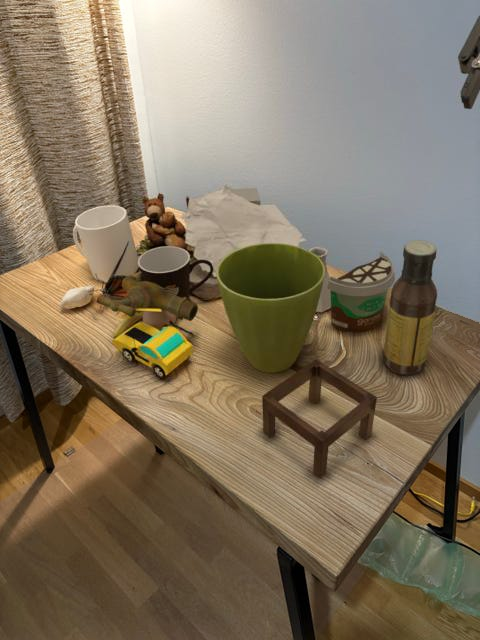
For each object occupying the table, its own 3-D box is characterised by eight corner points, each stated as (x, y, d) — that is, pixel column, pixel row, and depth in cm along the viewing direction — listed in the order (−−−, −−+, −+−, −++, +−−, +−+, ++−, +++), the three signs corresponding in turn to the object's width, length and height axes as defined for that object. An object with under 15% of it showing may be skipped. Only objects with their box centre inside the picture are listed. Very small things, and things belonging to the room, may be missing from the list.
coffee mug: (139, 320, 92) (129, 270, 86) (157, 292, 98) (149, 244, 92) (204, 327, 89) (198, 276, 83) (217, 298, 96) (213, 249, 90)
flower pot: (215, 335, 88) (207, 250, 78) (302, 320, 90) (305, 235, 80) (234, 399, 76) (227, 308, 66) (333, 380, 78) (341, 289, 69)
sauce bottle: (418, 348, 83) (442, 233, 71) (430, 376, 78) (456, 257, 66) (377, 350, 83) (393, 235, 71) (385, 377, 78) (404, 259, 66)
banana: (133, 305, 93) (152, 308, 91) (136, 313, 94) (155, 316, 92) (105, 333, 87) (125, 337, 86) (108, 341, 88) (127, 345, 87)
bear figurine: (133, 278, 103) (122, 221, 95) (139, 241, 115) (129, 187, 107) (204, 272, 103) (199, 215, 96) (202, 236, 115) (197, 182, 108)
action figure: (212, 294, 85) (162, 312, 72) (206, 318, 87) (156, 340, 73) (137, 265, 90) (77, 277, 77) (132, 288, 91) (72, 304, 78)
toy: (263, 212, 102) (255, 181, 114) (223, 215, 101) (219, 184, 113) (264, 256, 108) (256, 222, 119) (227, 259, 107) (223, 225, 119)
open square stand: (371, 435, 70) (377, 397, 65) (319, 479, 65) (322, 441, 60) (314, 395, 76) (316, 358, 72) (263, 433, 71) (261, 395, 67)
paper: (169, 185, 99) (188, 287, 95) (180, 169, 93) (200, 276, 90) (279, 188, 109) (300, 280, 106) (294, 174, 104) (316, 270, 100)
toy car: (199, 358, 83) (194, 315, 78) (164, 387, 78) (156, 343, 73) (145, 331, 89) (136, 290, 84) (110, 356, 84) (99, 314, 79)
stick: (194, 324, 88) (195, 336, 88) (192, 324, 88) (193, 336, 88) (170, 320, 83) (170, 332, 83) (167, 320, 83) (168, 333, 83)
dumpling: (75, 319, 93) (64, 302, 91) (61, 313, 97) (50, 296, 95) (106, 296, 96) (95, 278, 94) (91, 290, 100) (81, 273, 98)
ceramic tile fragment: (210, 308, 93) (245, 284, 100) (209, 292, 91) (245, 269, 98) (162, 289, 100) (198, 267, 106) (159, 273, 98) (196, 252, 104)
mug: (135, 282, 101) (120, 227, 94) (73, 286, 102) (54, 232, 95) (144, 256, 109) (131, 203, 101) (87, 260, 110) (70, 208, 103)
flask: (287, 305, 94) (287, 255, 88) (308, 285, 98) (309, 237, 92) (324, 318, 90) (327, 267, 84) (343, 297, 95) (348, 247, 89)
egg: (157, 313, 93) (134, 332, 88) (158, 288, 90) (134, 305, 85) (182, 324, 92) (160, 343, 86) (184, 298, 89) (162, 316, 84)
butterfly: (69, 276, 89) (120, 259, 86) (88, 247, 97) (135, 230, 93) (107, 330, 95) (155, 316, 92) (122, 299, 103) (167, 285, 100)
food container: (352, 347, 84) (357, 294, 78) (324, 328, 88) (327, 277, 82) (404, 317, 89) (413, 266, 83) (376, 301, 93) (383, 251, 87)
